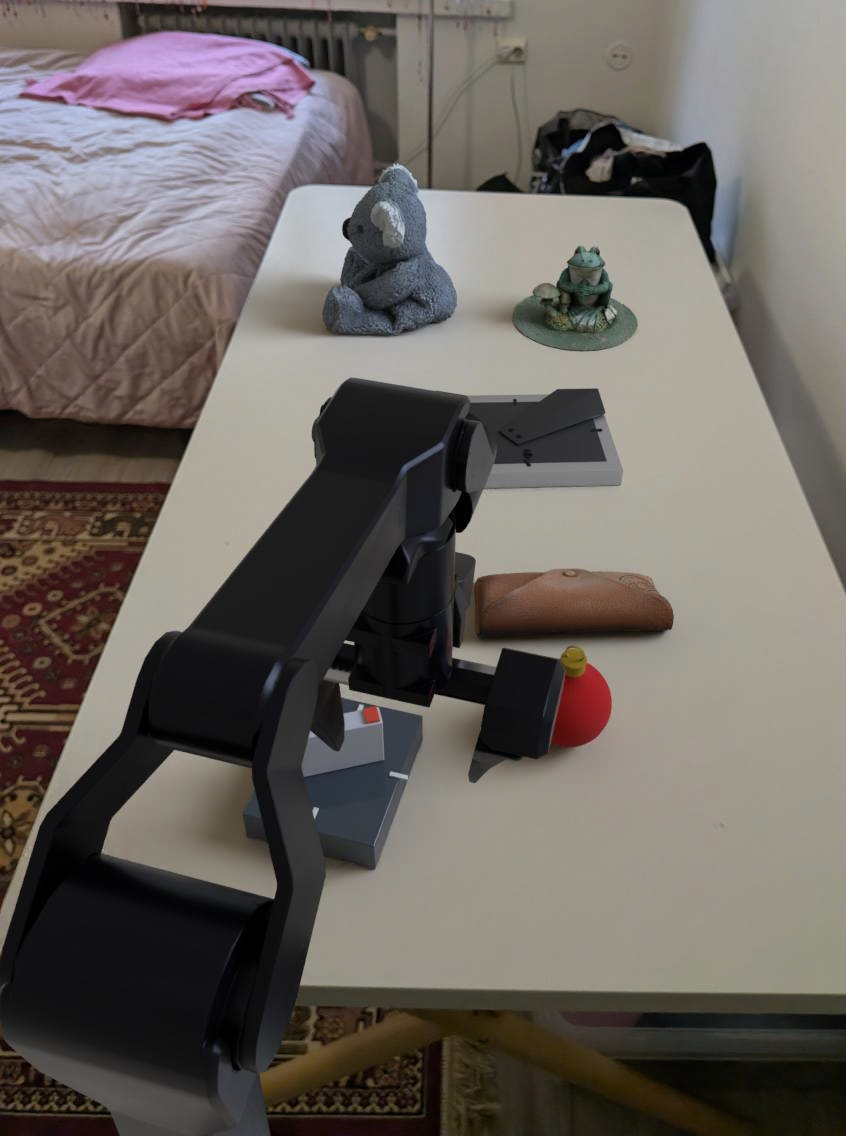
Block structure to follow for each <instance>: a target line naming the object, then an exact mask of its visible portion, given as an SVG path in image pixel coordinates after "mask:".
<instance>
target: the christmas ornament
mask: <svg viewBox="0 0 846 1136" xmlns="http://www.w3.org/2000/svg"><path fill="white" fill-rule="evenodd" d="M558 659H559V660H560V662H561V663H562V665H563V667H564V668H565V670H566V672H565V679H564V686H563V691H562V695H561V700H560V704H559V708H558V713H557V717H556V721H555V726H554V730H553V734H552V739H551V743H550V745H554V746H557V747H561V748H576V747H581V746H583V745H586V744H588V743H590V742H592V741H593V740H595V739H596V738H597V737H598V736H600V734H601V733H603V732H604V730H605V728H606V726H607V725H608V723H609V720H610V717H611V714H612V708H613V701H612V700H613V699H612V692H611V690H610V689H611V688H610V686H609V684H608V681H606V678H605V677H604V676H603V675H602V673H601V672H600V670H598V669H597V668H596V667H595V666H593V665H592V664H590V663H589V662H588V657H587V656H586V653H585V650H584V649H582V647H580V646H578V645H573V644H572V645H568V646H567V647H566V649H565V651H563V652H562V653H561V655H560V658H559V657H558Z"/></svg>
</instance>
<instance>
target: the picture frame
mask: <svg viewBox="0 0 846 1136" xmlns="http://www.w3.org/2000/svg"><path fill="white" fill-rule="evenodd" d="M466 396H467V397H468V399H469V400H470V407H469V412H470V413H472V414H473V415H475V416H476V417H478V418H479V419H480V420H481V421H482V422H483V423H484V424H485V425H486V426H487V427H488V429H489V431H490V432H491V434H492V435H493V438H494V441H495V443H496V445H497V453H496V458H495V461H494V464H493V466H492V470H491V472H490V475H489V477H488V480H487V482H486V485H485V487H484V489H517V488H520V489H521V488H555V487H559V488H560V487H561V488H563V487H600V486H601V487H602V486H622V482H623V481H622V480H623V476H624V468H623V466H622V461H621V459H620V456H619V453H618V451H617V448H616V444H615V442H614V439H613V436H612V433H611V430H610V426H609V424H608V420H607V418H606V409H605V406H604V403H603V399H602V396H601V394H600V391H599V388H557V389H555V390H554V391H552V392H550V393H547V394H546V393H545V394H543V393H542V394H541V393H540V394H538V393H537V394H480V395H479V394H478V395H472V394H471V395H466Z"/></svg>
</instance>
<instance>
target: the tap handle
mask: <svg viewBox="0 0 846 1136" xmlns="http://www.w3.org/2000/svg"><path fill="white" fill-rule="evenodd" d="M344 721H345V738H344V742H343V744H342V747H341V749H340V751H334V750H332V749H331V748H330V747H329V746H328V745H326V744H325V743H324V742H323V741H322V740H321V739H319V738H318V737H317V736H316V735H315V734H314V733H312V732H311V731H310V734H309V738H308V742H307V746H306V750H305V754H304V758H303V762H302V772H303V776H304V777H307V776H312V775H316V774H321V773H326V772H330V771H335V770H340V769H344V768H349V767H354V766H358V765H363V764H368V763H373V762H377V761H382V760H384V739H383V721H382V717H381V714H380V710H379V707H376V706H374V707H369V708H364V709H363V710H359V711H354V712H349V713H344Z"/></svg>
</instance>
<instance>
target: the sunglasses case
mask: <svg viewBox="0 0 846 1136" xmlns="http://www.w3.org/2000/svg"><path fill="white" fill-rule="evenodd" d="M474 607H475V609H474V610H475V611H474V612H475V634H476V637H482V638H496V637H511V636H523V635H529V634H530V635H538V634H547V633H586V632H627V631H628V632H631V631H640V632H641V631H642V632H643V631H647V632H648V631H671V630H672V629H673V626H674V619H675V614H674V610H673V607H672V604H671V602H669V600H668V599H667V598H666V597H664V596H663V595H661V593H660V592H659V591H658V589H656V586H655V584H654V581H653V579H652V577H650V576H649V575H644V574H641V573H637V572H636V573H635V572H627V571H625V572H623V571H590V570H587V569H582V568H554V569H549V570H548V571H531V572H526V571H525V572H509V573H495V574H486V575H482V576H479V577H478V578H477V579H476V581H475V583H474Z"/></svg>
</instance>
